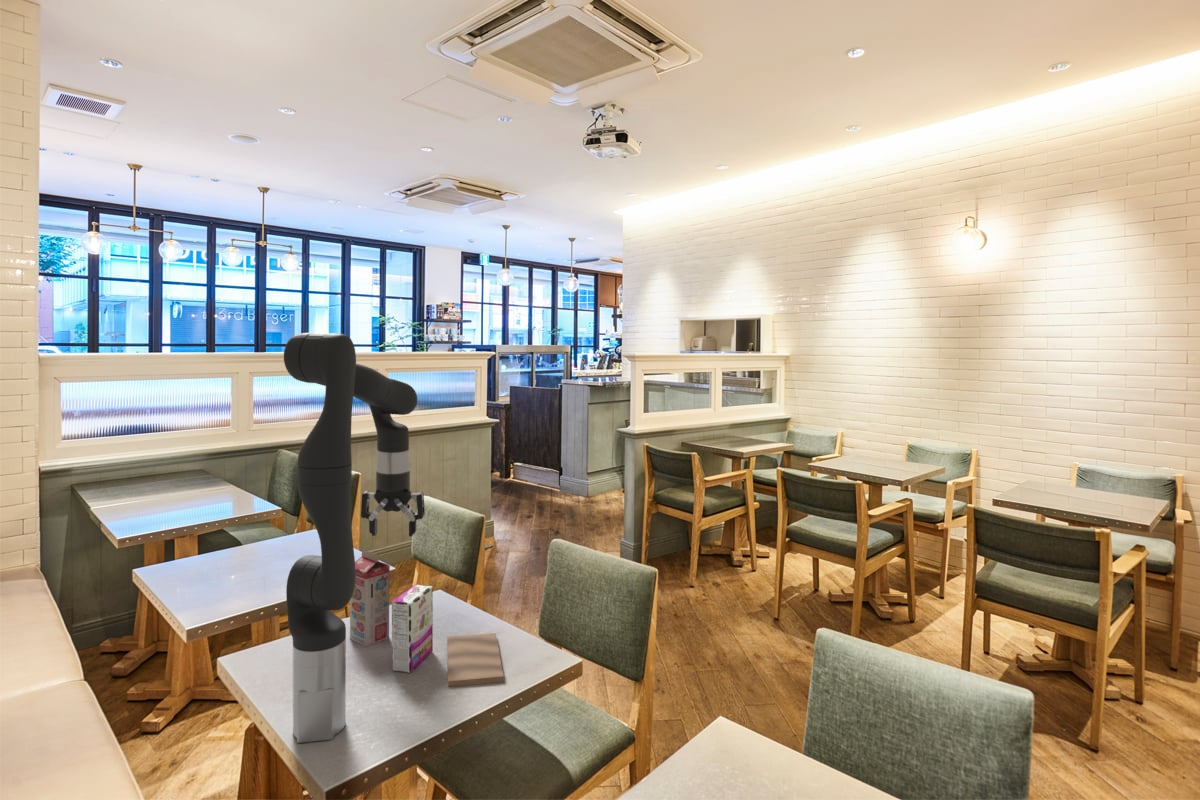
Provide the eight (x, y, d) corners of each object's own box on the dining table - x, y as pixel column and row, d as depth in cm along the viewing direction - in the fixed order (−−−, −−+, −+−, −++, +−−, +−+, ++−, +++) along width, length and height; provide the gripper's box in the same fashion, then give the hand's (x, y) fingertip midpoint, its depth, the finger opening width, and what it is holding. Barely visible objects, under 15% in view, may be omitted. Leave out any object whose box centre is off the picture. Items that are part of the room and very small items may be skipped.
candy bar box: (414, 649, 156) (414, 583, 154) (433, 651, 155) (434, 585, 153) (390, 671, 145) (390, 600, 143) (410, 674, 144) (411, 603, 142)
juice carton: (372, 630, 165) (373, 546, 164) (388, 637, 161) (389, 552, 160) (349, 638, 160) (350, 552, 158) (365, 646, 156) (366, 558, 154)
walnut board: (503, 681, 142) (503, 676, 142) (447, 686, 139) (448, 681, 139) (495, 637, 163) (495, 633, 163) (447, 641, 160) (447, 636, 160)
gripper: (357, 471, 145) (357, 540, 148) (421, 473, 147) (420, 541, 149) (366, 464, 153) (366, 529, 155) (427, 465, 154) (426, 530, 156)
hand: (393, 535), depth 152 cm, fingers open, 8 cm apart
